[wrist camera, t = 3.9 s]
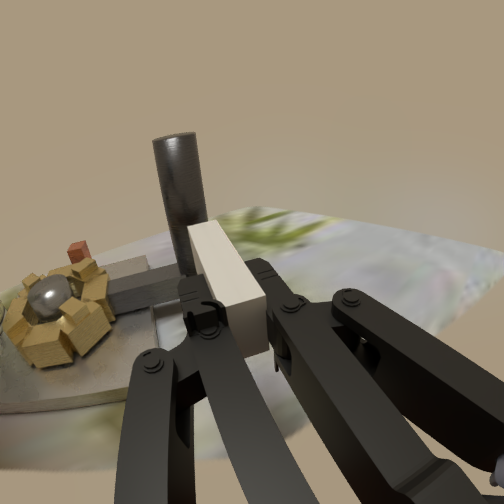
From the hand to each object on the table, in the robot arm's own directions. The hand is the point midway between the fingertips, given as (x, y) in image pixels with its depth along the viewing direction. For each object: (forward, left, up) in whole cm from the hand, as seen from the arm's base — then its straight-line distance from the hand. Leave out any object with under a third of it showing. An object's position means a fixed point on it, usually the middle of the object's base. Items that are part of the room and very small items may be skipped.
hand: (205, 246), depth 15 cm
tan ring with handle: (-9, +8, -8) cm, 15 cm away
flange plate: (-14, +9, -10) cm, 20 cm away
